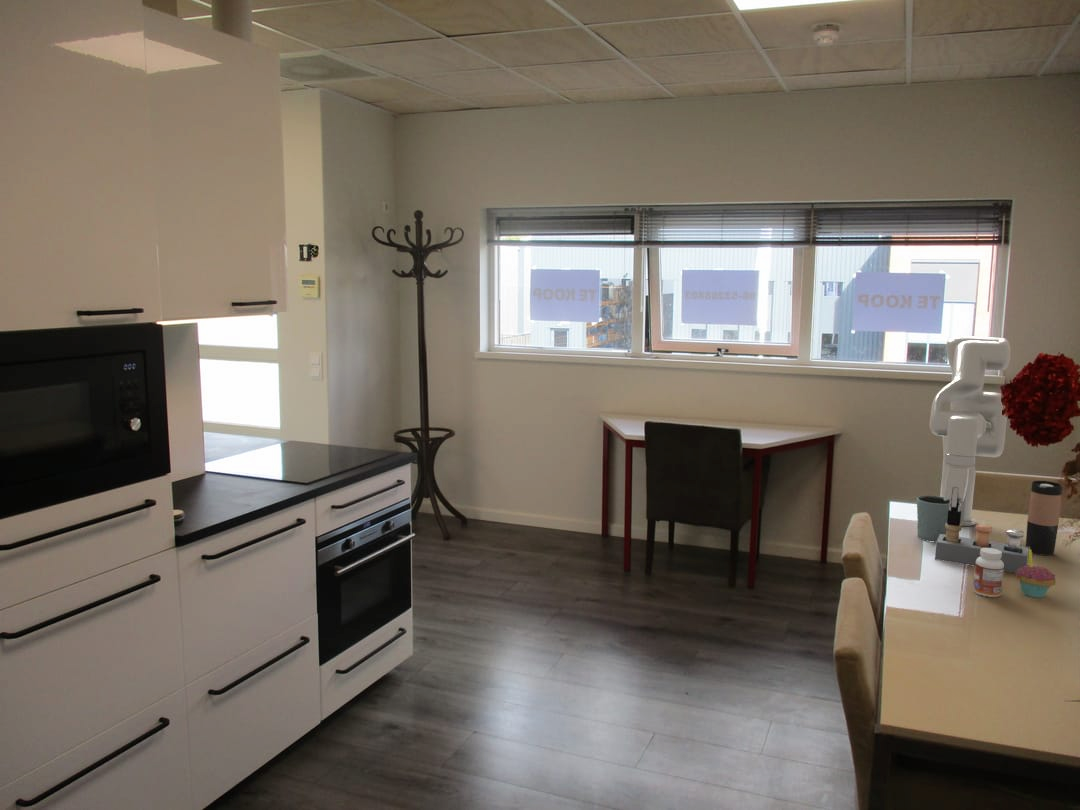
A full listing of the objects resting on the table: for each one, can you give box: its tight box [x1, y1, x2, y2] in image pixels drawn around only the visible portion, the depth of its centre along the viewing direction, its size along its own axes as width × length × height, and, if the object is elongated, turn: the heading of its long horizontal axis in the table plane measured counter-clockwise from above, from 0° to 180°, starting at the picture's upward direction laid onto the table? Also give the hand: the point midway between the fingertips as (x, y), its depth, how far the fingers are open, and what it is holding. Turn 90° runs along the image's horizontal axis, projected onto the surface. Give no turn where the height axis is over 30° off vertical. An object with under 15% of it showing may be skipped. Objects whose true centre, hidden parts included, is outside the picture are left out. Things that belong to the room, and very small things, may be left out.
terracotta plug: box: [974, 523, 993, 548], centre depth 231 cm, size 4×4×6 cm
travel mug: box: [1025, 480, 1063, 556], centre depth 240 cm, size 8×8×20 cm
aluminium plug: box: [1005, 528, 1024, 553], centre depth 227 cm, size 4×4×6 cm
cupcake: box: [1015, 547, 1057, 599], centre depth 208 cm, size 9×8×12 cm
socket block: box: [934, 534, 1029, 574], centre depth 231 cm, size 9×22×5 cm, turn 59°
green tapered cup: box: [916, 494, 950, 543], centre depth 252 cm, size 10×10×12 cm
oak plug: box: [945, 523, 962, 543], centre depth 235 cm, size 4×4×6 cm
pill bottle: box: [972, 548, 1004, 598], centre depth 208 cm, size 6×6×11 cm
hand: (953, 524), depth 234 cm, fingers closed
